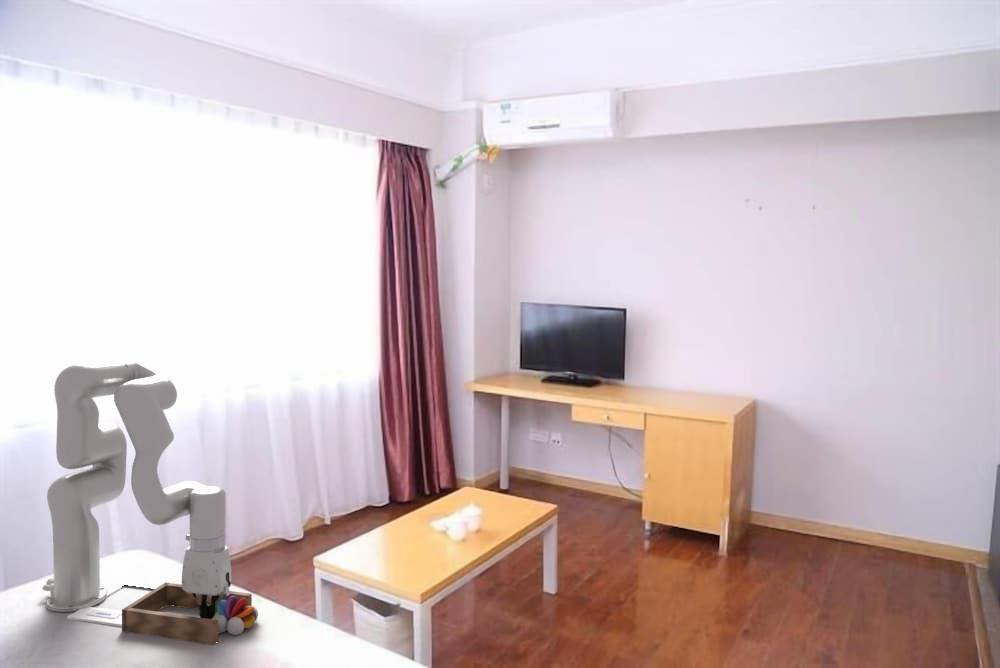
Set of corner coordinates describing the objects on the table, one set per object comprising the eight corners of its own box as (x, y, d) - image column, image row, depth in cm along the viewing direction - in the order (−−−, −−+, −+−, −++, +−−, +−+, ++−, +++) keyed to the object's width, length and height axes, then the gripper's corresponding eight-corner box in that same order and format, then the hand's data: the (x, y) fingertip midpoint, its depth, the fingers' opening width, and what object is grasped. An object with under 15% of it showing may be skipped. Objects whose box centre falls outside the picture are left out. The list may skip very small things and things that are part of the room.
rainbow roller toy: (243, 639, 150) (243, 607, 149) (203, 634, 151) (203, 602, 151) (263, 621, 158) (263, 591, 157) (226, 616, 160) (226, 586, 159)
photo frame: (67, 615, 156) (124, 582, 174) (67, 620, 157) (124, 587, 174) (122, 623, 154) (174, 589, 171) (122, 628, 154) (175, 593, 171)
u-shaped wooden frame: (121, 631, 152) (121, 609, 151) (165, 602, 166) (165, 582, 165) (214, 645, 147) (214, 622, 147) (251, 614, 161) (251, 593, 161)
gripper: (167, 544, 152) (167, 623, 153) (227, 551, 149) (227, 632, 150) (189, 532, 159) (189, 608, 161) (246, 539, 156) (246, 616, 158)
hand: (207, 619), depth 155 cm, fingers closed
